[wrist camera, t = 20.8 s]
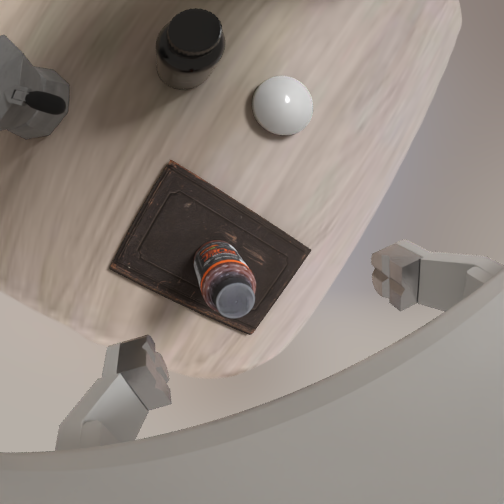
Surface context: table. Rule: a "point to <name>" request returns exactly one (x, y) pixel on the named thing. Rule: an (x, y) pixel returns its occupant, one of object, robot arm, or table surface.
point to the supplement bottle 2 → (224, 279)
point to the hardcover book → (197, 234)
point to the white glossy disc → (282, 105)
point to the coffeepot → (29, 94)
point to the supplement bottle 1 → (189, 48)
